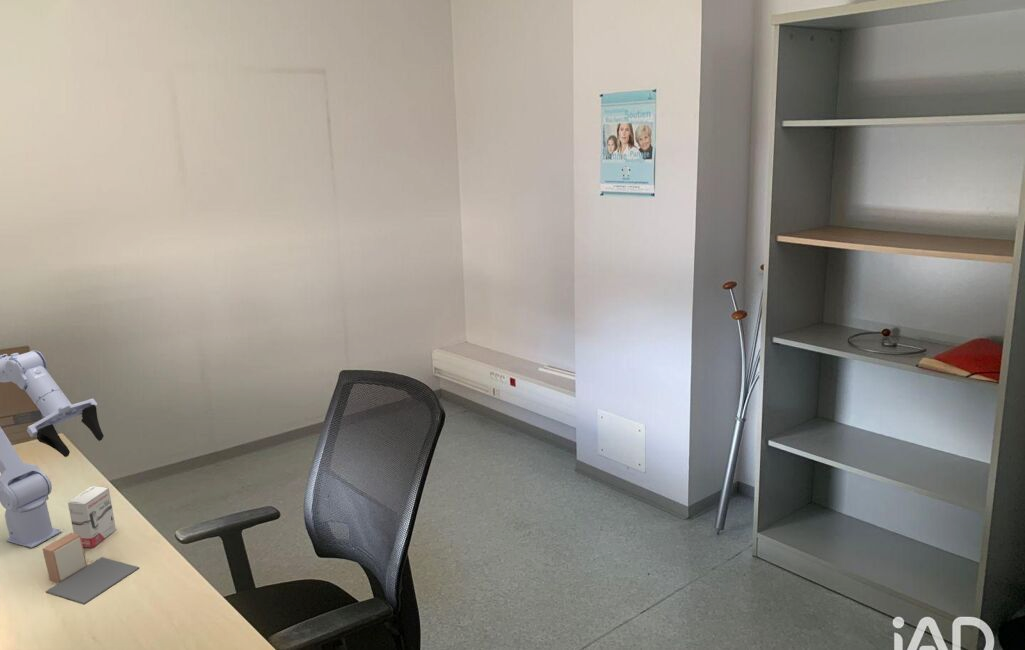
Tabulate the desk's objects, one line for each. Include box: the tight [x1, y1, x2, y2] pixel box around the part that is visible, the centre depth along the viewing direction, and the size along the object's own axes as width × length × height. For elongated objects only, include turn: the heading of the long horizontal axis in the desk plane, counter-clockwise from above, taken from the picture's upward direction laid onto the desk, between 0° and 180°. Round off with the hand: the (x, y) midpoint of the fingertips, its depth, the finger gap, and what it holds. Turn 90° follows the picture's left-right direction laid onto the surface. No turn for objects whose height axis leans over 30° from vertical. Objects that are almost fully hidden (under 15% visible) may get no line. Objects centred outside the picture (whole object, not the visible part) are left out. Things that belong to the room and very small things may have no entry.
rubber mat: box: [45, 556, 140, 605], centre depth 173 cm, size 12×14×1 cm
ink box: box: [67, 485, 117, 548], centre depth 189 cm, size 9×5×12 cm, turn 168°
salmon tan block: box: [42, 532, 88, 584], centre depth 175 cm, size 3×7×8 cm, turn 156°
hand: (84, 446), depth 172 cm, fingers open, 7 cm apart
